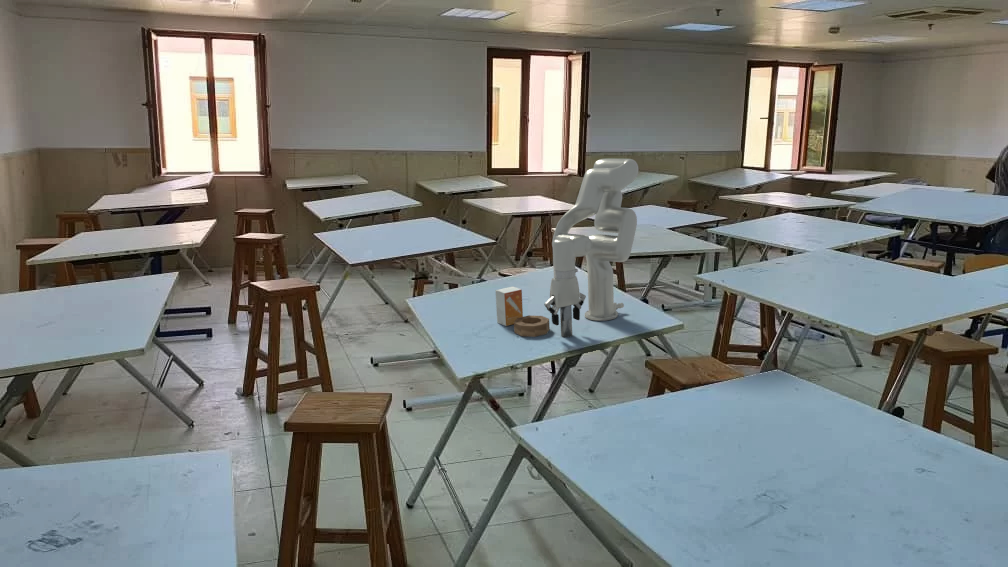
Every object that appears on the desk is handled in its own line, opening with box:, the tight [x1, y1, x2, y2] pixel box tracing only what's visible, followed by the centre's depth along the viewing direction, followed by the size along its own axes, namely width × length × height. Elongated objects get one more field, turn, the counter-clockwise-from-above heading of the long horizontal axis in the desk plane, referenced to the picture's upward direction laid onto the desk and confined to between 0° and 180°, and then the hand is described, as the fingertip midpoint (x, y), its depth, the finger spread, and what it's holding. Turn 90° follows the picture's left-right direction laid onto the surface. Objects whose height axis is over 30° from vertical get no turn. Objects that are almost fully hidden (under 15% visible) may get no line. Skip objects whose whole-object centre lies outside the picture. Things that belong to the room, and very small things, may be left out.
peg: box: [559, 305, 573, 338], centre depth 248 cm, size 4×4×12 cm
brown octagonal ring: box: [513, 315, 550, 338], centre depth 256 cm, size 12×12×4 cm
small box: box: [495, 286, 524, 327], centre depth 267 cm, size 8×6×13 cm
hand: (566, 321), depth 249 cm, fingers open, 8 cm apart
